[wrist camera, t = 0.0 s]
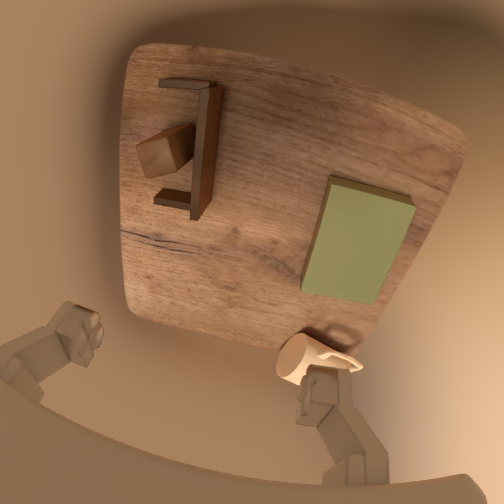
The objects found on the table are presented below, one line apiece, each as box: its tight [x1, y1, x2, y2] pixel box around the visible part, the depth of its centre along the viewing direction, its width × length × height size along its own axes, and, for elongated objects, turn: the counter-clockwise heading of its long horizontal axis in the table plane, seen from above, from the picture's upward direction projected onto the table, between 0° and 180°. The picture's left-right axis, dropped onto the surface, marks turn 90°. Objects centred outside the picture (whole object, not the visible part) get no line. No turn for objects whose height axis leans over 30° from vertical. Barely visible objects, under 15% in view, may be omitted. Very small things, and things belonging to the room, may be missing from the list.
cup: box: [276, 333, 363, 385], centre depth 48 cm, size 8×12×10 cm
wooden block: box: [136, 124, 196, 178], centre depth 32 cm, size 4×4×8 cm
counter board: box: [300, 176, 416, 305], centre depth 39 cm, size 16×11×3 cm
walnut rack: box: [154, 78, 224, 221], centre depth 33 cm, size 16×7×6 cm, turn 172°
